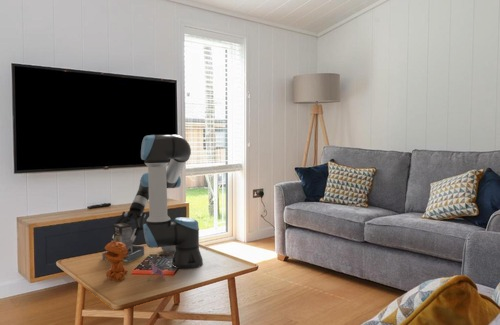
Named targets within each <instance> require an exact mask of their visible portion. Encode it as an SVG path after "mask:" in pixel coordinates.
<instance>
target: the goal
mask: <svg viewBox="0 0 500 325" xmlns="http://www.w3.org/2000/svg"><path fill="white" fill-rule="evenodd" d="M132 245H133V253H132V254H130V255H127V257H126V258H124V261H122V263H131V262H132V261H133V262H134V261H135V260H137V259H139V258H141V257H143V256H145V246H144V245H140V244H139V245H138V244H132ZM109 252H110V251H109ZM103 253H107V251H106V250H105V251H104V252H102V255H101V256H102V261H107V259H105V257H104V254H103ZM112 253H114V252H112Z"/></svg>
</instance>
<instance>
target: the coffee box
mask: <svg viewBox="0 0 500 325" xmlns="http://www.w3.org/2000/svg"><path fill="white" fill-rule="evenodd" d="M113 225H114V226H113V235H114V239H113V241H114V242H116V240H117V241H118V242H122V243H124V244H125V245H126V246H125V247H127V248H128V255H130V254H132V253H133V245H134V244H133V242H132V241H131V240H130V238H131V236H132V234H133V225H131V224H128V223H120V224H115V223H114V224H113ZM127 248H126V249H127ZM126 252H127V251H126ZM126 255H127V254H126Z"/></svg>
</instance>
